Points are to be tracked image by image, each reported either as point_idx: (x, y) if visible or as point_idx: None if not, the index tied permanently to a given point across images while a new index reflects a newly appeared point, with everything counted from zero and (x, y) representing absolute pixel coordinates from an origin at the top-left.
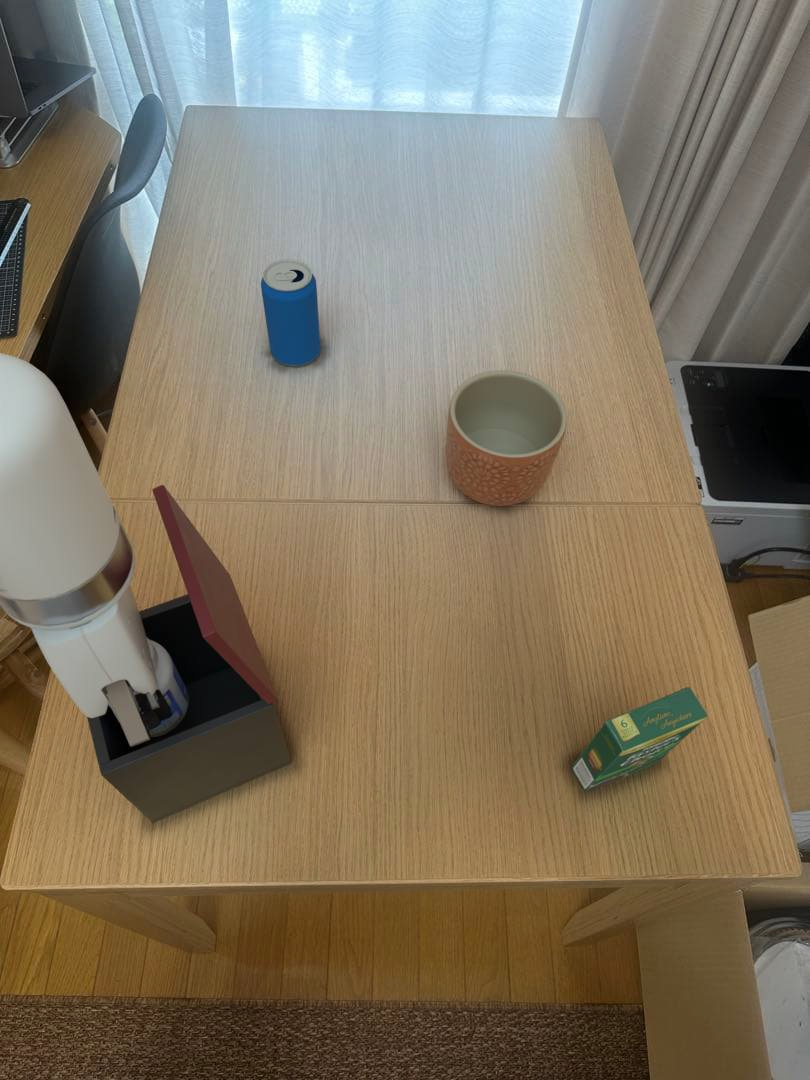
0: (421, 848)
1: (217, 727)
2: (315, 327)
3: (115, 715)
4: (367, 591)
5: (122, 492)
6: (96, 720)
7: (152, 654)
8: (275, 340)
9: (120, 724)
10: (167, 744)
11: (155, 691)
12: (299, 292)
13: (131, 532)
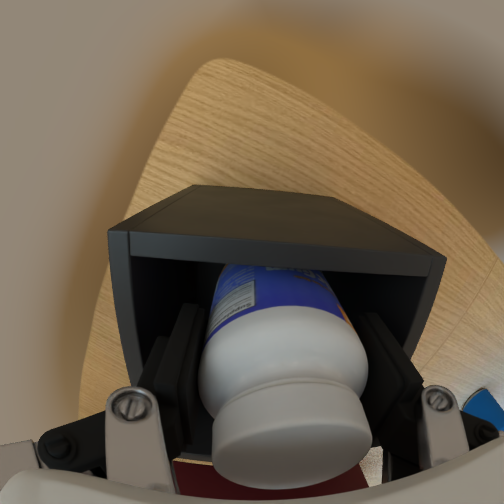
0: (101, 360)
1: None
2: None
3: (107, 424)
4: None
5: (493, 274)
6: (236, 257)
7: (261, 488)
8: (486, 404)
9: (48, 450)
10: (128, 354)
11: (184, 447)
12: None
13: (469, 269)
